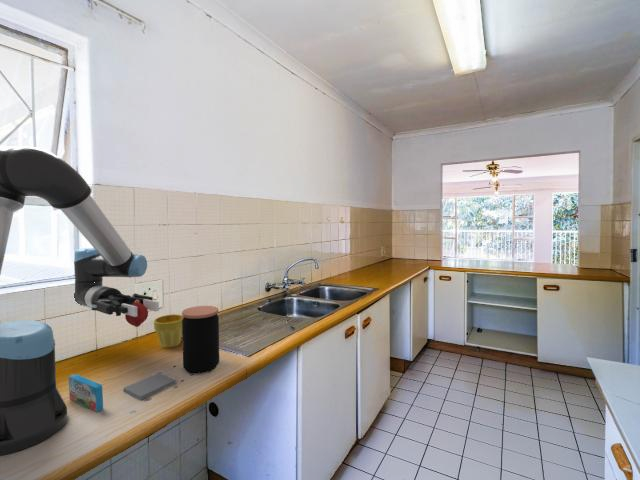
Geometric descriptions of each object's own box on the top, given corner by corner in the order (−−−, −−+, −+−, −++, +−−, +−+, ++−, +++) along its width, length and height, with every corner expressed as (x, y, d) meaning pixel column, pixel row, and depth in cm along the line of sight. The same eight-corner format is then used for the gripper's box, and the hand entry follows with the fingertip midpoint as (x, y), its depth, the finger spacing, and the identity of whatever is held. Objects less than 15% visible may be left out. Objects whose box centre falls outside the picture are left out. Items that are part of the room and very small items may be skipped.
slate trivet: (140, 400, 82) (140, 396, 82) (123, 391, 86) (123, 387, 86) (175, 383, 91) (175, 379, 91) (158, 375, 95) (158, 372, 95)
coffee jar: (199, 357, 107) (198, 304, 106) (226, 362, 104) (225, 307, 103) (175, 371, 97) (173, 313, 96) (204, 377, 94) (202, 317, 93)
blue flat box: (103, 409, 78) (102, 385, 78) (96, 412, 77) (95, 387, 76) (76, 396, 84) (75, 373, 83) (69, 399, 82) (68, 376, 82)
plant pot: (158, 352, 111) (157, 324, 110) (151, 343, 119) (151, 317, 118) (189, 345, 117) (188, 319, 116) (181, 337, 125) (180, 312, 124)
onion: (138, 330, 91) (137, 302, 91) (120, 329, 92) (119, 301, 92) (152, 324, 97) (152, 298, 96) (136, 323, 98) (135, 297, 97)
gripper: (133, 304, 111) (176, 314, 100) (70, 317, 95) (112, 331, 84) (133, 282, 111) (176, 290, 99) (69, 292, 95) (111, 302, 83)
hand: (146, 309), depth 91 cm, fingers closed on onion, 6 cm apart
